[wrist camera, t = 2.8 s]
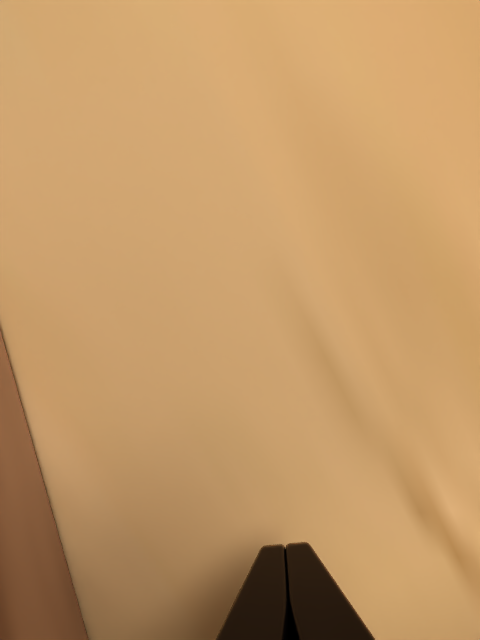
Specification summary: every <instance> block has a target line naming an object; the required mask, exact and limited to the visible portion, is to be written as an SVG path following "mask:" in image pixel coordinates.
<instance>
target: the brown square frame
mask: <svg viewBox="0 0 480 640" xmlns="http://www.w3.org/2000/svg"><path fill="white" fill-rule="evenodd" d="M0 640H88V637H87V633H86V630H85V626H84V623H83V619H82V616H81V612H80V609H79V605H78V602H77V598H76V595H75V591H74V588H73V584H72V581H71V577H70V574H69V570H68V566H67V563H66V559H65V556H64V552H63V549H62V545H61V542H60V538H59V535H58V531H57V528H56V524H55V521H54V517H53V514H52V510H51V507H50V503H49V500H48V496H47V493H46V489H45V486H44V482H43V479H42V475H41V472H40V468H39V465H38V461H37V458H36V454H35V451H34V447H33V444H32V440H31V437H30V433H29V430H28V426H27V423H26V419H25V416H24V412H23V409H22V405H21V402H20V398H19V395H18V391H17V388H16V384H15V381H14V377H13V373H12V370H11V366H10V363H9V359H8V356H7V352H6V349H5V345H4V342H3V338H2V335H1V331H0Z"/></svg>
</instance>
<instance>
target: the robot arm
mask: <svg viewBox="0 0 480 640" xmlns="http://www.w3.org/2000/svg"><path fill="white" fill-rule="evenodd" d="M216 640H375V638H374V637H373V636H372V634H371V633H370V631H369V630H368V628H367V627H366V625H365V624H364V623H363V621H362V620H361V618H360V617H359V615H358V614H357V612H356V611H355V609H354V608H353V607H352V605H351V604H350V602H349V601H348V599H347V598H346V596H345V595H344V593H343V592H342V591H341V589H340V588H339V586H338V585H337V583H336V582H335V580H334V579H333V578H332V576H331V575H330V573H329V572H328V570H327V569H326V567H325V566H324V564H323V563H322V562H321V560H320V559H319V557H318V556H317V554H316V553H315V551H314V550H313V549H312V547H311V546H310V545H309V544H308V543H307V542H301V543H290V544H287V545H286V549H285V547H284V545H282V544H279V545H267V546H263V547H262V548H261V549H260V551H259V553H258V555H257V557H256V559H255V561H254V563H253V565H252V567H251V569H250V571H249V573H248V575H247V577H246V579H245V581H244V583H243V585H242V587H241V589H240V591H239V593H238V595H237V597H236V599H235V601H234V603H233V605H232V607H231V609H230V611H229V613H228V615H227V617H226V619H225V621H224V623H223V626H222V628H221V630H220V632H219V634H218V636H217V638H216Z"/></svg>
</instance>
